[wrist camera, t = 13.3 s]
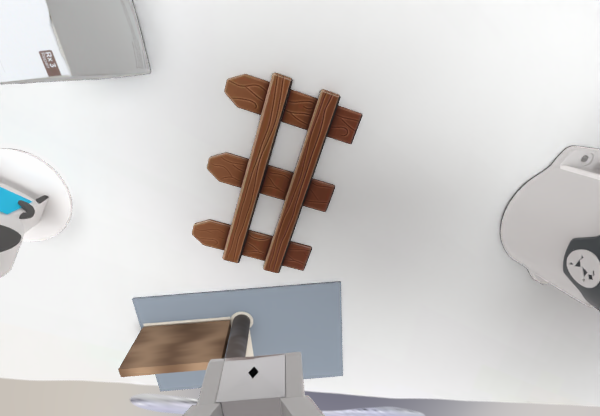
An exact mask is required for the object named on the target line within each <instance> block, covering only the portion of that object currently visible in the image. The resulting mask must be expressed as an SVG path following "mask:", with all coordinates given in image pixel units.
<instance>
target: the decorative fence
mask: <svg viewBox="0 0 600 416" xmlns="http://www.w3.org/2000/svg"><path fill="white" fill-rule="evenodd" d="M292 81H293V80H292V78H289V77H286V76H283V75H281V74H278V73H273V74H272V77H271V81H270V82H268V81H265V80H262V79H259V78H256V77H253V76H250V75H247V74H243V75H240V76H236V77H232V78H229V79H227V82H226V86H225V90H224V92H225V94H226V95H227V96H228V97H229V98H230V99H231V101H232V102H233V103H234V104H235V105H236V106H237V107H238V108H241V109H244V110H247V111H251V112H254V113H257V114H260V115H261V118H260V121H259V125H258V129H257V132H256V136H255V140H254V143H253V147H252V151H251V154H250V158H249V159H247V158H243V157H240V156H237V155H233V154H230V153H222V154H219V155H215V156H211V157H210V158H209V160H208V165H207V169H208V170H209V171H210V173H211V174H212V175H213V176H214V177H215V178H216V179H217V180H218V181H220V182H223V183H227V184H230V185H233V186H237V187H240V188H241V191H240V195H239V198H238V202H237V206H236V209H235V213H234V217H233V220H232V224H231V225H229V224H225V223H221V222H218V221H214V220H206V221H202V222H198V223H195V224H194V226H193V230H192V235H193V236H194V237H195V238H196V239H198V240H199V241H200V242H201V243H202V244H203V245H205V246H209V247H213V248H217V249H221V250H224V253H223V257H222V258H223V260H227V261H231V262H235V263H239V261H240V258H241V255H244V256H248V257H252V258H256V259H260V260H264V261H265V263H264V266H263V269H264V270H267V271H271V272H275V273H279V272H280V269H281V266H282V265H283V266H287V267H291V268H294V269H298V270H302V271H303V270H304V268H305V266H306V263H307V261H308V258H309V255H310V253H311V250H312V248H311V247H310V246H307V245H303V244H299V243H295V242H292V241H291V238H292V235H293V232H294V229H295V226H296V223H297V220H298V218H299V215H300V212H301V209H302V206H306V207H309V208H313V209H316V210H320V211H323V212H326V210H327V208H328V205H329V202H330V200H331V197H332V194H333V192H334V189H335V186H334V185H332V184H329V183H326V182H322V181H319V180H316V179H313V178H312V177H313V175H314V172H315V169H316V166H317V163H318V160H319V157H320V154H321V152H322V149H323V146H324V143H325V140H326V137H330V138H333V139H336V140H339V141H342V142H345V143H349V144H352V141H353V139H354V136H355V133H356V131H357V128H358V126H359V123H360V120H361V118H362V114H361V113H358V112H355V111H352V110H349V109H346V108H344V107H341V106H338V103H339V100H340V95H338V94H335V93H332V92H329V91H326V90H324V89H323V90H321V91H320V94H319V97H318V99H317V98H314V97H312V96H309V95H306V94H303V93H300V92H297V91H294V90H291V89H290V88H291V85H292ZM280 122H284V123H287V124H290V125H293V126H296V127H300V128H303V129H306V130H308V131H307V134H306V137H305V140H304V143H303V146H302V149H301V152H300V156H299V159H298V162H297V165H296V168H295V171H294V173H293V172H289V171H286V170H283V169H280V168H276V167H273V166H270V165H268V163H269V159H270V156H271V153H272V149H273V146H274V142H275V139H276V136H277V132H278V129H279V126H280ZM259 193H261V194H264V195H268V196H271V197H275V198H278V199H282V200H285V202H284V205H283V208H282V211H281V214H280V217H279V220H278V223H277V226H276V229H275V232H274V235H273V236H269V235H266V234H262V233H258V232H255V231H251V230H249V227H250V224H251V221H252V217H253V214H254V210H255V207H256V204H257V200H258V197H259Z"/></svg>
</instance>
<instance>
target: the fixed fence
mask: <svg viewBox="0 0 600 416" xmlns="http://www.w3.org/2000/svg"><path fill="white" fill-rule="evenodd" d="M249 328H250V318H249V317H248V316H246V315H243V314H240V315H237V316H235V317H234V319H233V323H232V328H231V323H230V320H227V321H215V322H203V323H190V324H178V325H166V326H154V327H143V328H142V330H141V331H140V333H139V335H138V336H137V338H136V340H135V342H134V343H133V345H132V347H131V349H130V350H129V352H128V354H127V356H126V357H125V359H124V361H123V362H122V364H121V366H120V368H119V369H118V370H119V372H120V375H121V377H127V376H139V375H151V374H163V373H175V372H187V371H199V370H206V369H207V366H208V363H209V361H210V360H211V359H223V358H234V357H245V356H246V349H247V342H248V335H249ZM230 331H231V333H230ZM229 336H230V337H229ZM228 340H229V342H228ZM227 345H228V346H227ZM226 349H227V351H226ZM225 354H226V356H225Z"/></svg>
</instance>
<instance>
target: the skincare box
mask: <svg viewBox="0 0 600 416" xmlns="http://www.w3.org/2000/svg"><path fill="white" fill-rule="evenodd" d="M150 73H151V71H150V66H149V62H148V59H147V55H146V51H145V47H144V43H143V39H142V35H141V31H140V27H139V23H138V20H137V16H136V12H135V9H134V6H133V2H132V0H0V84H25V83H36V82H56V81H76V80H98V79H107V78H117V77H127V76H136V75H144V74H150Z"/></svg>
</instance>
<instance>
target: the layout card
mask: <svg viewBox="0 0 600 416" xmlns="http://www.w3.org/2000/svg"><path fill="white" fill-rule="evenodd" d="M132 300H133V304H134V307H135V310H136V313H137V317H138V320H139V323H140V326H141V330H142V328H143V327H154V326H166V325H178V324H190V323H203V322H215V321H227V320H230V323H231V328H232V323H233V319H234V317H235V316H237V315H240V314H243V315H246V316H248V317H249V318H250V328H249V335H248V342H247V349H246V356H245V357H252V356H261V355H272V354H282V353H293V352H301V355H302V368H303V379H311V378H323V377H334V376H343V365H342V319H341V282H327V283H315V284H302V285H290V286H277V287H265V288H252V289H240V290H227V291H215V292H202V293H190V294H178V295H165V296H153V297H140V298H133V299H132ZM230 333H231V331H230ZM229 337H230V336H229ZM228 342H229V340H228ZM227 346H228V345H227ZM226 351H227V349H226ZM225 356H226V354H225ZM205 373H206V370H199V371H187V372H175V373H163V374H155V375H156V378H157V382H158V385H159V388H160V391H170V390H181V389H193V388H201V387H202V384H203V380H204V377H205Z"/></svg>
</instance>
